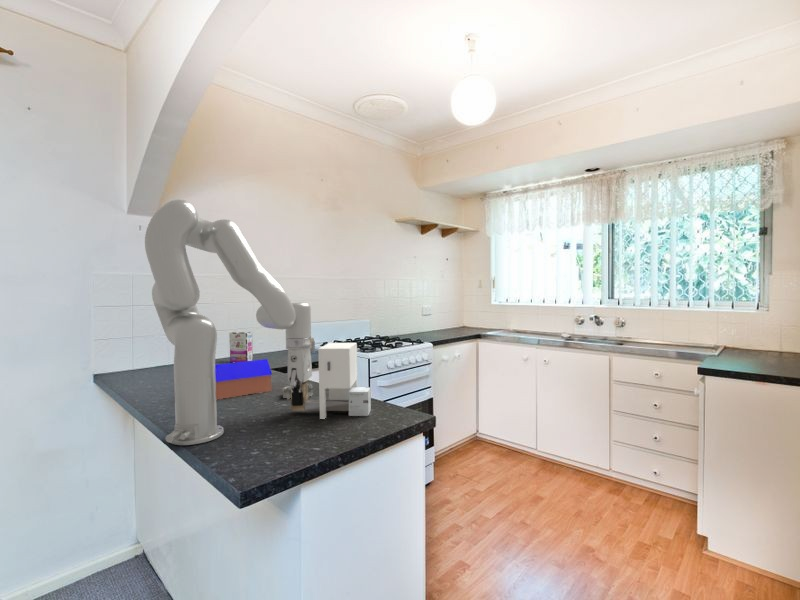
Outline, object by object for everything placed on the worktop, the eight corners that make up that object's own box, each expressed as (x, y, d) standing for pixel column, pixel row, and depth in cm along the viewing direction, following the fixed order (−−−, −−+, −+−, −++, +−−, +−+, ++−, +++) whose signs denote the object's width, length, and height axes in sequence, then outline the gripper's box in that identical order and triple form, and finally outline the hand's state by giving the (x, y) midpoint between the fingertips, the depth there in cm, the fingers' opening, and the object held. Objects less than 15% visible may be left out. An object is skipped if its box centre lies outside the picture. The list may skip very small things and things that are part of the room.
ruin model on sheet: (313, 353, 247) (313, 337, 247) (315, 353, 244) (314, 337, 244) (295, 354, 242) (294, 338, 241) (296, 355, 239) (296, 339, 239)
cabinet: (350, 420, 115) (348, 348, 114) (319, 420, 115) (317, 349, 115) (358, 406, 128) (356, 342, 128) (330, 406, 129) (328, 342, 128)
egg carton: (282, 401, 138) (281, 389, 138) (282, 395, 145) (282, 384, 145) (313, 398, 140) (313, 386, 140) (312, 392, 148) (312, 381, 148)
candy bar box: (253, 361, 216) (252, 331, 216) (247, 363, 211) (246, 332, 211) (236, 361, 219) (235, 331, 219) (229, 362, 214) (228, 332, 214)
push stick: (348, 411, 119) (348, 384, 119) (291, 410, 120) (290, 384, 120) (351, 407, 123) (351, 381, 123) (295, 406, 124) (294, 381, 124)
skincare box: (348, 416, 118) (347, 391, 118) (351, 410, 124) (351, 386, 124) (368, 416, 118) (368, 391, 118) (371, 410, 124) (370, 386, 124)
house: (208, 394, 148) (207, 362, 148) (263, 386, 160) (262, 357, 159) (214, 401, 138) (213, 367, 138) (272, 392, 150) (271, 361, 149)
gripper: (302, 347, 113) (304, 411, 113) (317, 339, 130) (318, 396, 130) (276, 347, 113) (278, 411, 114) (295, 340, 130) (296, 396, 130)
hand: (299, 402), depth 122 cm, fingers closed on push stick, 4 cm apart
